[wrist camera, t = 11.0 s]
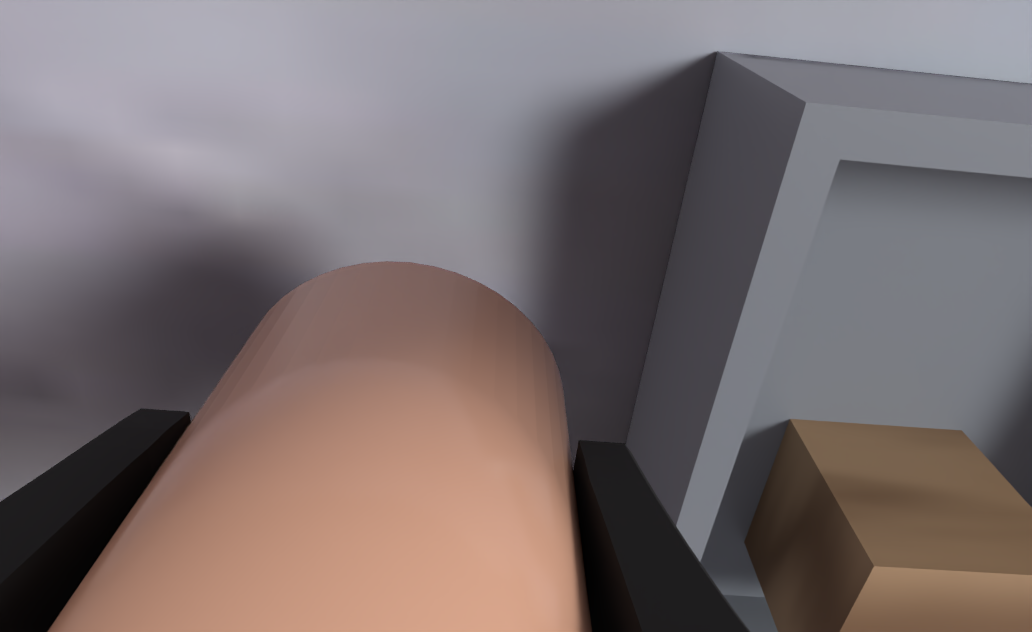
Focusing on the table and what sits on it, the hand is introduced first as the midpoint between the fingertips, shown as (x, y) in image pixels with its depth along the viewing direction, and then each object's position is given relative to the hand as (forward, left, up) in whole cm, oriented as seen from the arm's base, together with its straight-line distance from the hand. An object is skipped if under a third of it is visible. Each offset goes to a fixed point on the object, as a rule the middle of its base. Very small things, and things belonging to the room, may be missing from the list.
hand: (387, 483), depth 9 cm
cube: (-7, -12, -8) cm, 16 cm away
